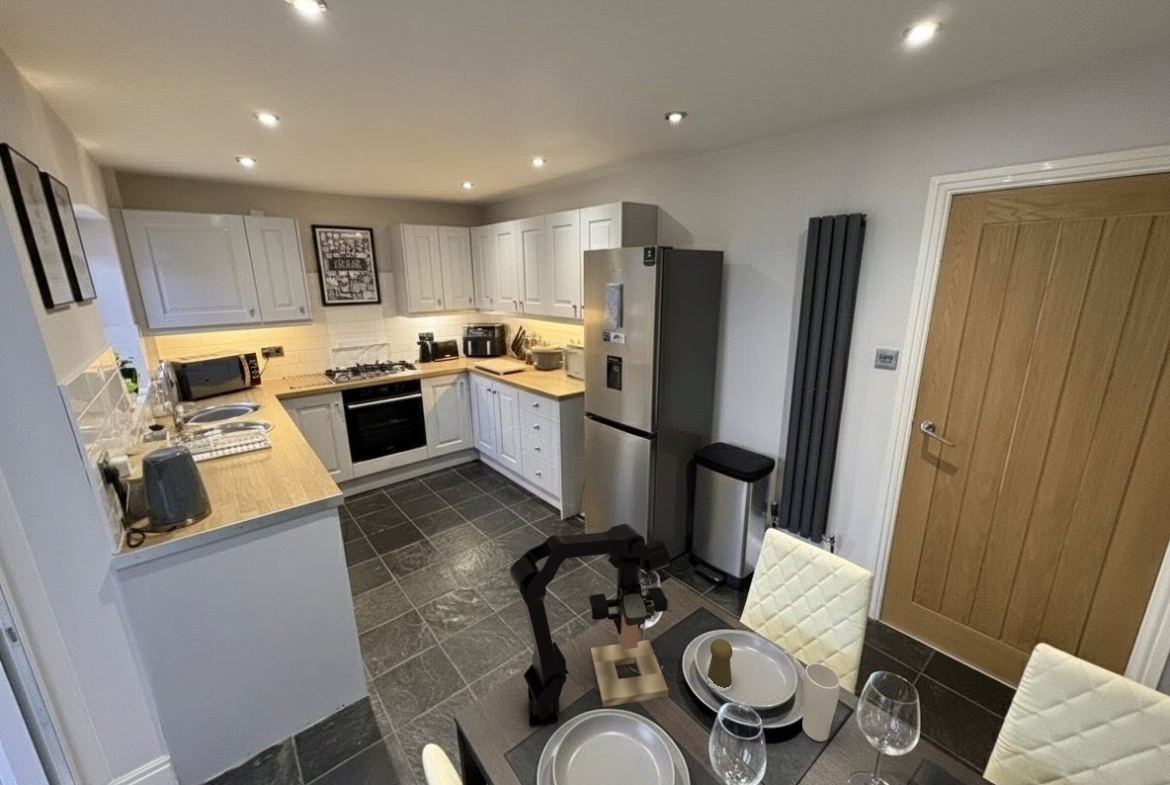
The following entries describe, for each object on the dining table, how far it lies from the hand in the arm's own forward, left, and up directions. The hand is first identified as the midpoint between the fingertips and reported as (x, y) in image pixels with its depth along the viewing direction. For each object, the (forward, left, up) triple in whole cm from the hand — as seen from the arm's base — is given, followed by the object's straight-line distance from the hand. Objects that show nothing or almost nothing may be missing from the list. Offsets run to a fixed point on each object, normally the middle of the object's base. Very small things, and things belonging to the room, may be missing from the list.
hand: (627, 632), depth 114 cm
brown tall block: (0, 0, -3) cm, 3 cm away
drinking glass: (+37, -22, -13) cm, 45 cm away
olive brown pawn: (+22, -6, -13) cm, 26 cm away
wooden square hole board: (0, 0, -13) cm, 13 cm away
